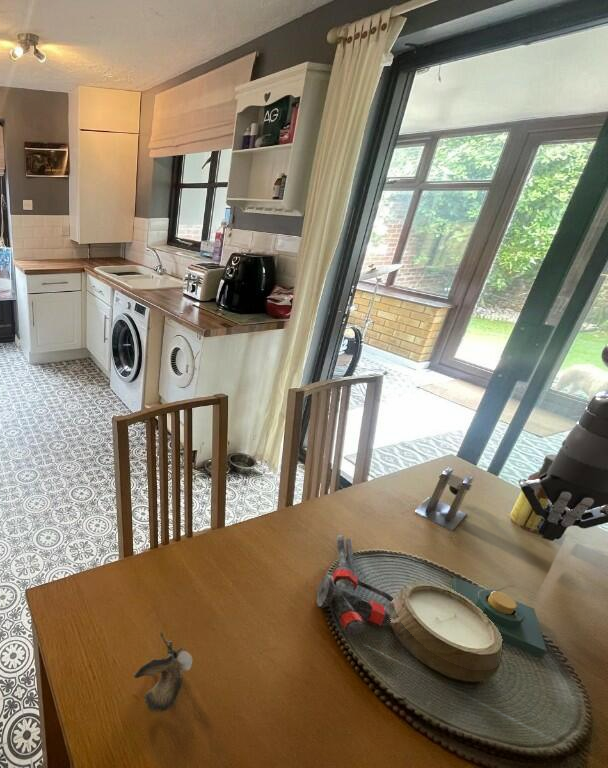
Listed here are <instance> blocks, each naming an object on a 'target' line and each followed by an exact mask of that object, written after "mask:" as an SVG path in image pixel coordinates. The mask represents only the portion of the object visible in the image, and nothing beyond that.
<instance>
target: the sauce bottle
mask: <svg viewBox="0 0 608 768" xmlns="http://www.w3.org/2000/svg"><path fill="white" fill-rule="evenodd" d="M556 455H557V454H546V455H545V456H544V458H543V464H542V465H541V467H540V468H539V469H538V471H537V472H534V473H532V474H530V475H529V476H528V477H527V479H526V480H527V481H533V480H539V477H540V476H541V475H543V474H545V473H547V472H548V470H549V468H550V466H551V464H552V462H553V461H554V459H555V457H556ZM536 496H537V498H538V500H539V501H540V503H541V505H542V506H544V507H546V505H547V500H548V498H547V496H546V494H545V492H544V490H543V488H542V487H540V488H539V493H538V494H536ZM541 518H542V516H539V515H536V514H535V512H534V510H533V509H532V507H531V505H530V504H529V502H528V500H527V498H526V497H525V495H524V493H523V491H522V490H521V491H520V493H519V495H518V497H517V500H516V502H515V503H514V506H513V508H512V510H511V512H510V514H509V520H510V521H511V523H513V524H514V525H515V526H517V527H519V528H521V529H523V530H525V531H527V532H531V533H538V531H537V527H536V526H537V524H538V523H539V521H540V519H541ZM538 534H539V533H538Z"/></svg>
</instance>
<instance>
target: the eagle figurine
mask: <svg viewBox="0 0 608 768" xmlns="http://www.w3.org/2000/svg"><path fill="white" fill-rule="evenodd" d="M159 634H160V638H161V639H162V641H163V643H164V644H165V648H166V651H167V657H166V658H160V659H157V658H154V659H152V660H151V661H149V662H147V663H146V664H144V665H143V666H141V667H140V668H139V669H138V670H137V672H136V673H135V674H134V675H133V678H135V679H138V678H141V677H152V676H155V675H158V674H160V677H159V679H158V680H157V682H156V683H155V684H154V686H153V687H152V688H150V689H149V690H148V691H147V692H146V693H145V695H144V698H145V703H146V707H147V708H149V710H150V711H153V710H154V712H158V711H159V712H163V711H167V710H168V709H170V708H171V707H172V705H174V702H175V700H176V699H177V696H178V694H179V691H181V689H182V686H183V677H182V676H181V670H182V671H186V672H187V671H188V672H189V671H190V669H191V668H192V666H193V662H194V661H193V657H192V655H191V654H190V653H189V652H187V651H185V650H183V646H180V647H179V648H178V649H174V648H173V641H172V640H169V641H168V640H167V638H166V637H165V635H164V633H163V632H162V631H160V632H159Z"/></svg>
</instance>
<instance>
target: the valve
mask: <svg viewBox="0 0 608 768" xmlns="http://www.w3.org/2000/svg"><path fill="white" fill-rule="evenodd" d="M336 543H337V552H338V563H339V565H338V567H337V568H335V570H334V572H333V574H332V575H331V574H329V573H326V574H325V575H324V576H323V577H322V579H321V580H320V583H319V586H318V589H317V593H316V604H317V607H319V608H321V609H324V608H326V607H327V606H328V605H330V606H331V608H332V610H333V612H334V613H335V615H336V617H337V618H338V619H339V622H340V625H341V627H343V629H344V630H345V631H347V632H348V633H349V634H352V635H359V634H361V633H362V632H363V631H364V629H365V624H364V622H365V623H366V622H367V623H368V622H369V623H368V624H370V623H371V624H370V625H373V624H374V625H373V626H375V625H376V626H375V627H380V626H381V627H382V626H383V627H386V626H388V625H389V624H391V623H390V622H391V621H390V620H391V619H390V617H391V614H390V612H389V611H388V610H387V609H385V606H384V605H383V604H382V603H380V602H379V603H378V602H377V601H374V600H369V601H368V600H366V599H365V598H362V597H361V596H360V595H359V594H356V590H357V587H358V586H359V587H362V588H364V589H365V590H368V591H371V592H373V593H374V594H377V595H379V596H381V597H383V598H384V599H386V600H387V601H389V602H390V603H391V601H392V600H393V599H395V597H393V596H392V595H390V594H389V593H388V592H386V591H385V590H382V589H381V588H377V587H376V586H373V585H371V584H369V583H367V582H364V581H362V580H361V579H359V578H358V577H357V575H356V571H355V564H354V557H353V549H352V548H353V547H352V540H351V539H350V538H344V536H343V535H342V534H338V535H336ZM345 545H346V546H345ZM345 547H346V548H345ZM345 549H346V550H345ZM346 556H347V557H346ZM347 563H348V567H347ZM363 619H364V620H363Z"/></svg>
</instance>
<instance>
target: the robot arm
mask: <svg viewBox="0 0 608 768" xmlns="http://www.w3.org/2000/svg"><path fill="white" fill-rule="evenodd" d="M600 357H601V362H602V363H603V364H604V366H605V367H606V368H608V343H607V344H606V345H605V346H604V348H603V350H602V351H601V355H600ZM555 455H556V457H555V459H554V461H553V462H552V464H551V466H550V468H549V470H548V472H547V473H545V474H543V475H541V476H540V477H539V480H533V481H527V480H528V479H525V478H521V479H519V480H518V484H519V487H520V489H521V491H523V493H524V495H525V497H526V498H527V500H528V502H529V504H530V505H531V507H532V509H533V510H534V512H535V514H536V515H539V516H542V518H541V519H540V521H539V523H538V524H537V526H536V527H537V531H538V534H539V536H540V538H541V539H545V540H548V541H551V542H554V541H555V540H559V539H560V540H561V539H562V537H563V535H564V534H565V532H566V530H567V529H568V528H570V527H578V528H580V529H590V528H592V527H593V528H594V527H597V526H601V525H604V524H608V390H603V391H599V392H598V393H596V394H594V396H593V397H592V398H591V399H590V401H589V402H588V404H587V405H586V407H585V409H584V411H583V412H582V414H581V415H580V417H579V419H578V421H577V422H576V424H575V425H574V427H573V428H572V429H571V430H570V431H569V433H568V435H567V436H566V438H565V439H564V440H563V441H562V443H561V446H560V448H559V450H558V452H557V454H555ZM540 487H542V488H543V490H544V492H545V494H546V496H547V498H548V500H547V505H546V507H544V506H542V505H541V503H540V501H539V500H538V498H537V496H536V494H538V493H539V488H540Z"/></svg>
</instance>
